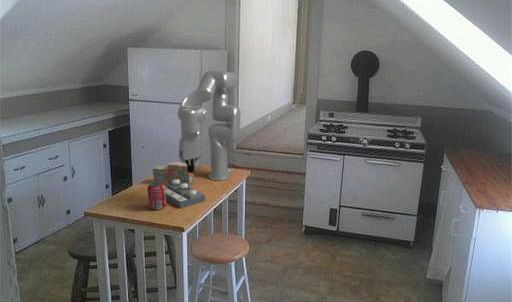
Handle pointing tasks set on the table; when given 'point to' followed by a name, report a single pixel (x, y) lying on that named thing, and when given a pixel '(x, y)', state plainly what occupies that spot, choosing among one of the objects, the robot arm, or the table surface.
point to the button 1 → (175, 182)
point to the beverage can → (156, 195)
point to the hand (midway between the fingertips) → (191, 172)
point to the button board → (182, 196)
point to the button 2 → (192, 192)
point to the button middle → (183, 186)
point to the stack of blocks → (173, 173)
